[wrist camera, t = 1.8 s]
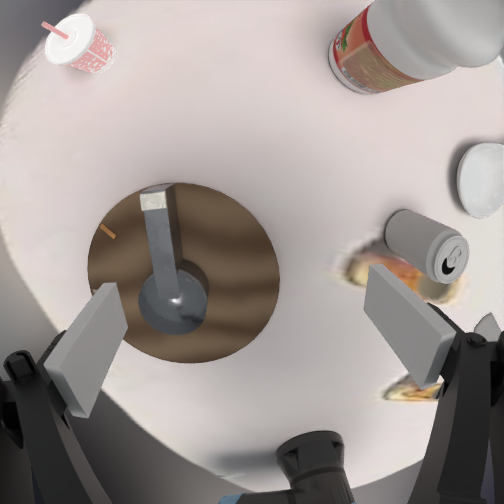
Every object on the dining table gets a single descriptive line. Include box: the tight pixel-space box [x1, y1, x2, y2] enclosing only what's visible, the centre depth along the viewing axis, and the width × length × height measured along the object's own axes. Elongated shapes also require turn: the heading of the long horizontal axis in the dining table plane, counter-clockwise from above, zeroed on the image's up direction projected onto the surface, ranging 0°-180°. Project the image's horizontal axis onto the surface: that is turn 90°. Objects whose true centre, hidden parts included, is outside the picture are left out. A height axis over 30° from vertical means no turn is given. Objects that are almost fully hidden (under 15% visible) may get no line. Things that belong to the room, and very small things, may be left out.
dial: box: [138, 184, 209, 335], centre depth 33 cm, size 17×8×6 cm, turn 3°
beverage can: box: [385, 210, 469, 284], centre depth 32 cm, size 6×6×12 cm
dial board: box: [87, 183, 280, 363], centre depth 37 cm, size 26×26×1 cm
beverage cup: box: [41, 13, 116, 74], centre depth 20 cm, size 6×6×14 cm
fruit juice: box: [329, 0, 504, 94], centre depth 17 cm, size 9×9×28 cm
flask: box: [474, 313, 501, 342], centre depth 42 cm, size 7×7×10 cm
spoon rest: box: [457, 142, 504, 219], centre depth 32 cm, size 24×12×7 cm, turn 124°
